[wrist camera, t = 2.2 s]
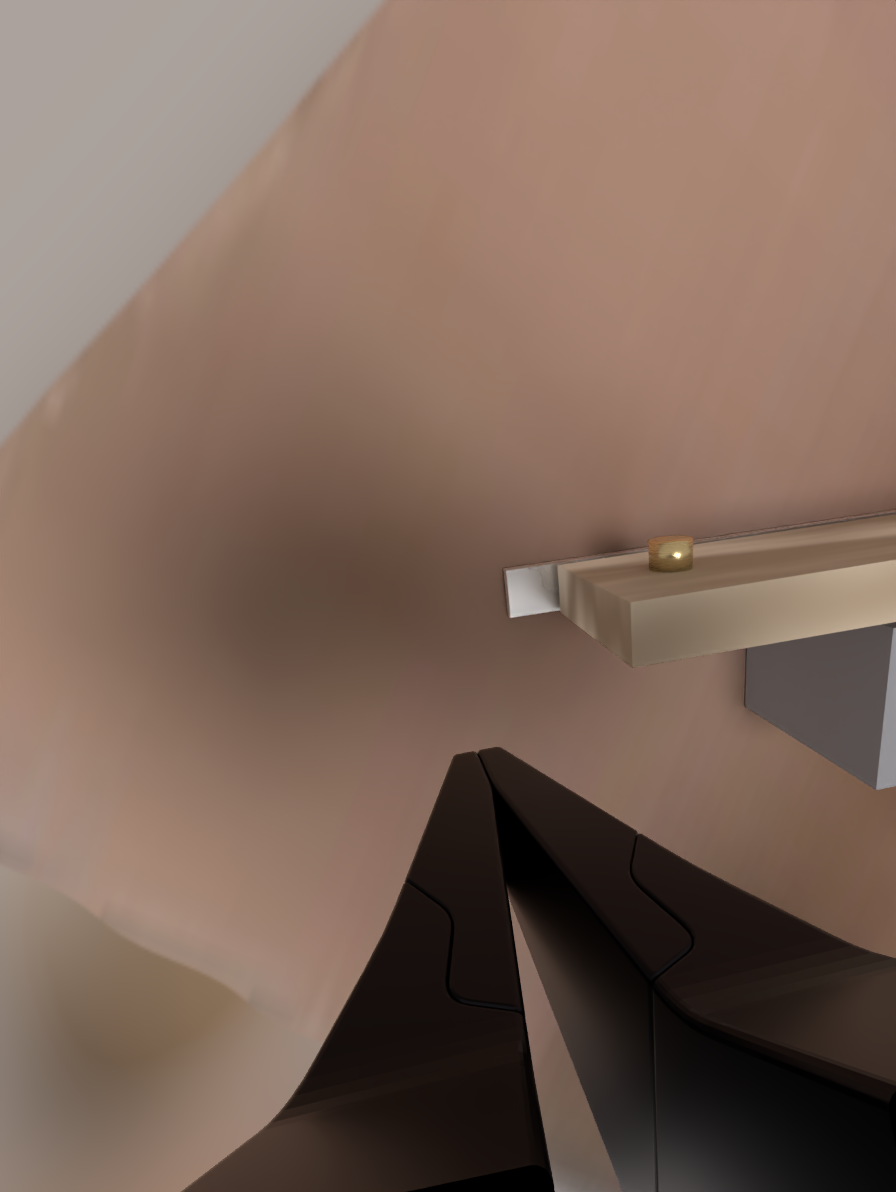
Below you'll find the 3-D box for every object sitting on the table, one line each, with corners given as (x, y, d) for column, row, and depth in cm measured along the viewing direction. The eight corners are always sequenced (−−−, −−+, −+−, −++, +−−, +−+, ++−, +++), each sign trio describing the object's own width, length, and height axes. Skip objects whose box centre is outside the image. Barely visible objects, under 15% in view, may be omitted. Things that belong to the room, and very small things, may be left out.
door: (950, 550, 22) (1152, 576, 16) (560, 613, 20) (632, 667, 15) (959, 481, 21) (1174, 483, 16) (555, 540, 20) (629, 568, 14)
